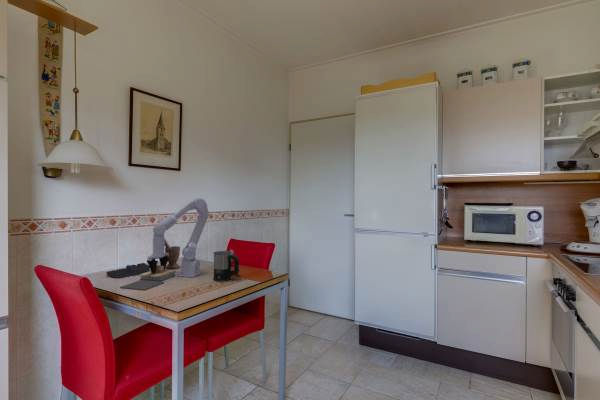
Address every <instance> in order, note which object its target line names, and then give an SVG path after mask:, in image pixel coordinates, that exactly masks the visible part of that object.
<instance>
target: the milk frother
mask: <svg viewBox="0 0 600 400" xmlns="http://www.w3.org/2000/svg"><path fill="white" fill-rule="evenodd" d="M230 253H231V252H230V250H217V251H213V279H212V280H213V281H215V282H226V281H229V280H231V277H233V276H235V277H236V276H238V275H239V272H240V269H239V268H240V258H239V257H238V256H237V255H235V254H233V255H230ZM231 259H232V260H233V261H234V266H233V268H234V269H233V270H232V266H231Z"/></svg>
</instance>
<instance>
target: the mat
mask: <svg viewBox="0 0 600 400" xmlns="http://www.w3.org/2000/svg"><path fill="white" fill-rule="evenodd" d="M163 284H165V281H150V280H141V279H140V280H136V281H133V282H131V283H128V284H125V285H122V286H120V287H119V289H125V290H134V291H147V290H150V289H152V288H155V287H158V286H160V285H163Z"/></svg>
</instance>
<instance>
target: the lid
mask: <svg viewBox="0 0 600 400" xmlns="http://www.w3.org/2000/svg"><path fill="white" fill-rule="evenodd" d="M172 273H175V274H176V273H177V270H173V269H165V270H164V266H160V264H159V265H158V264H157V266H156V273H155V274H154V273H151V270H150V271H149V272H146V273H142V274H139V275H138V276H139V277H141V276H149V277H163V276H166V275H169V274H172Z"/></svg>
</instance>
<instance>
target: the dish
mask: <svg viewBox="0 0 600 400" xmlns="http://www.w3.org/2000/svg"><path fill="white" fill-rule="evenodd" d="M175 276H176V272H175V273H172V274H169V275H166V276H163V277H149V276H140V280H148V281H159V282H164V281H165V280H167V279H170V278H173V277H175Z"/></svg>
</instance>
